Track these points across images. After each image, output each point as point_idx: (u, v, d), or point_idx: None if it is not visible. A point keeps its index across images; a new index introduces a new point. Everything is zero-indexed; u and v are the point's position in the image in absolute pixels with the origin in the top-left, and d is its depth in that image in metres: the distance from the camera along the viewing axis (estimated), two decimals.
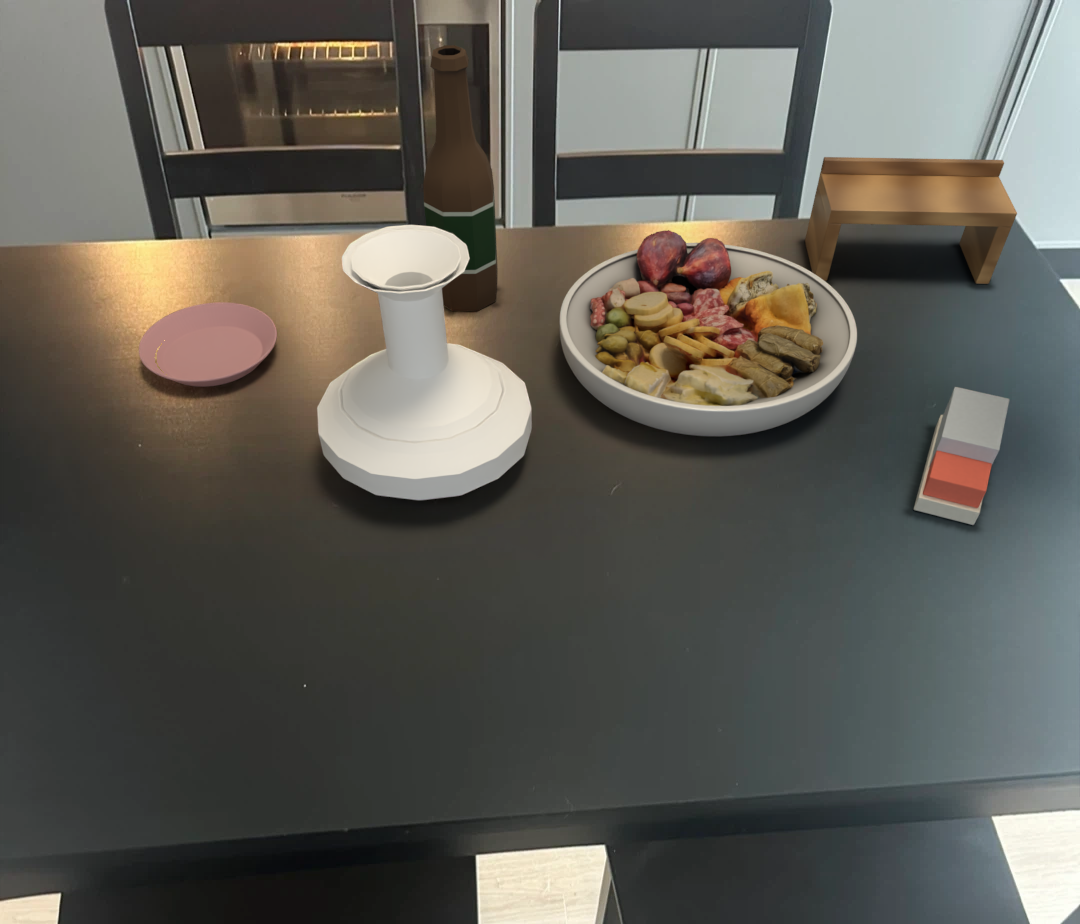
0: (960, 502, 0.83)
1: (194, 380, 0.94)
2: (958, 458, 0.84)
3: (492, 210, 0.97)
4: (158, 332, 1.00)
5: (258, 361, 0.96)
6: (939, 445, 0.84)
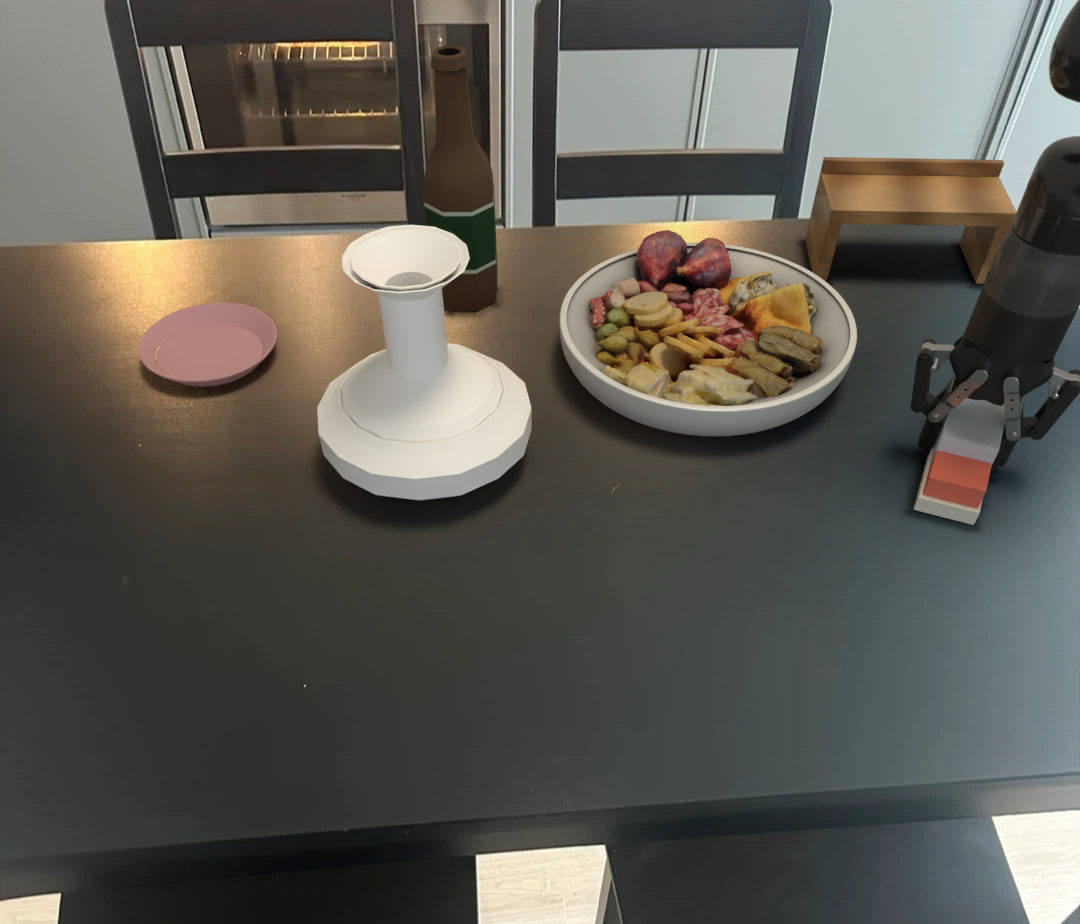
0: (960, 502, 0.83)
1: (194, 380, 0.94)
2: (958, 458, 0.84)
3: (492, 210, 0.97)
4: (158, 332, 1.00)
5: (258, 361, 0.96)
6: (939, 445, 0.84)
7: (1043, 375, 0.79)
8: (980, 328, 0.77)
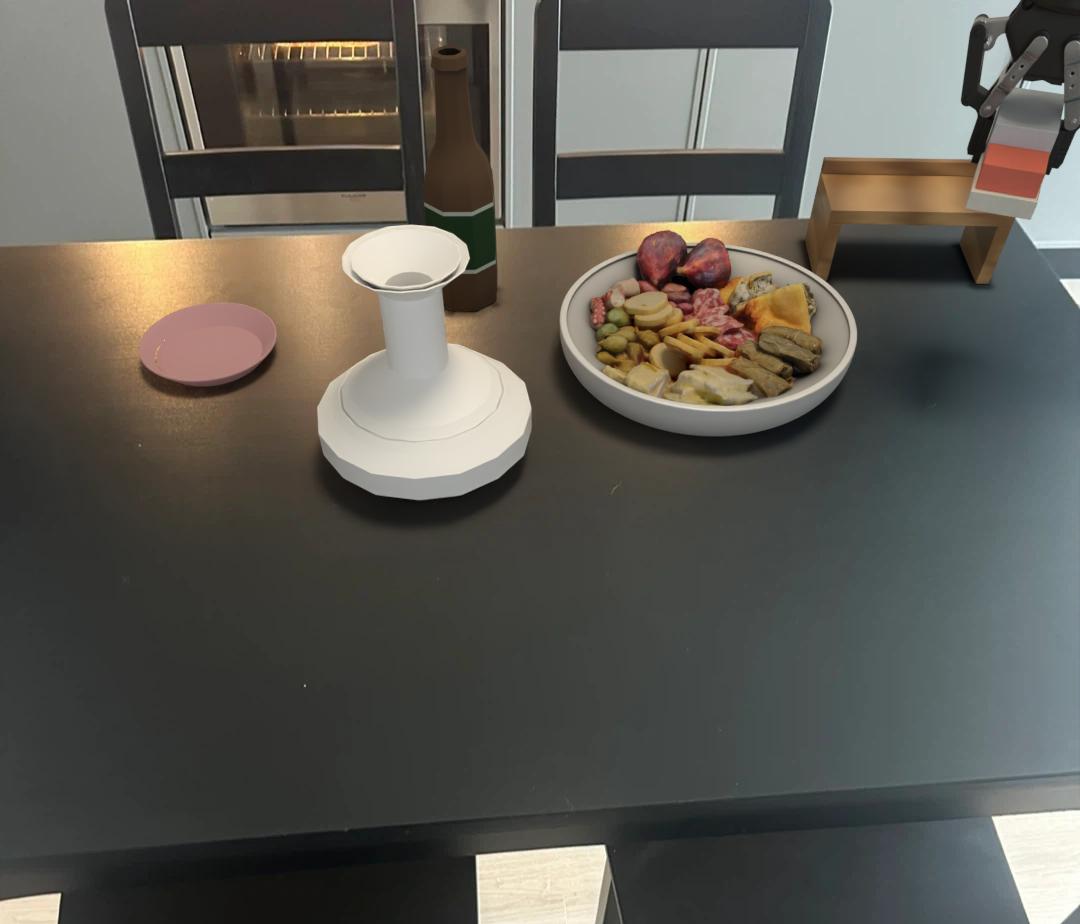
0: (1016, 193, 0.78)
1: (194, 380, 0.94)
2: (1013, 148, 0.79)
3: (492, 210, 0.97)
4: (158, 332, 1.00)
5: (258, 361, 0.96)
6: (992, 136, 0.79)
7: None
8: None
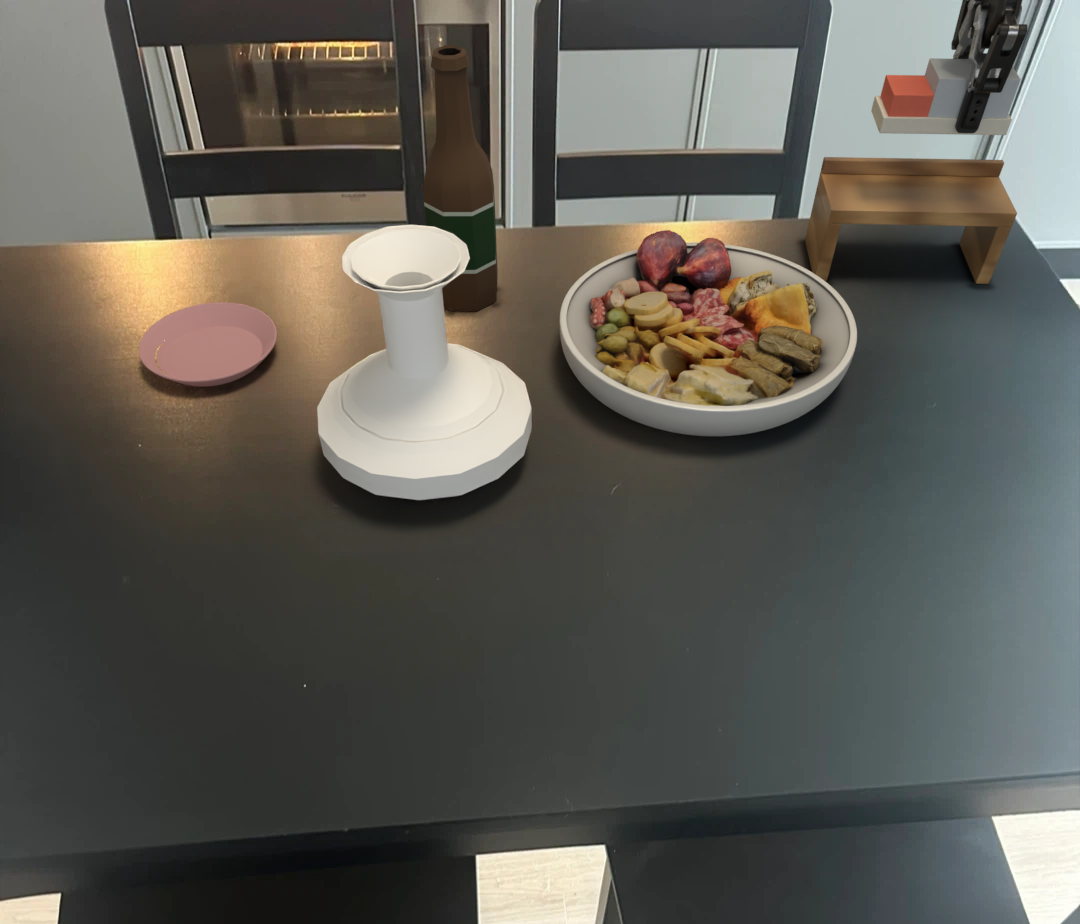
0: (885, 107, 0.96)
1: (194, 380, 0.94)
2: (924, 83, 0.96)
3: (492, 210, 0.97)
4: (158, 332, 1.00)
5: (258, 361, 0.96)
6: (926, 69, 0.96)
7: (995, 11, 0.87)
8: None
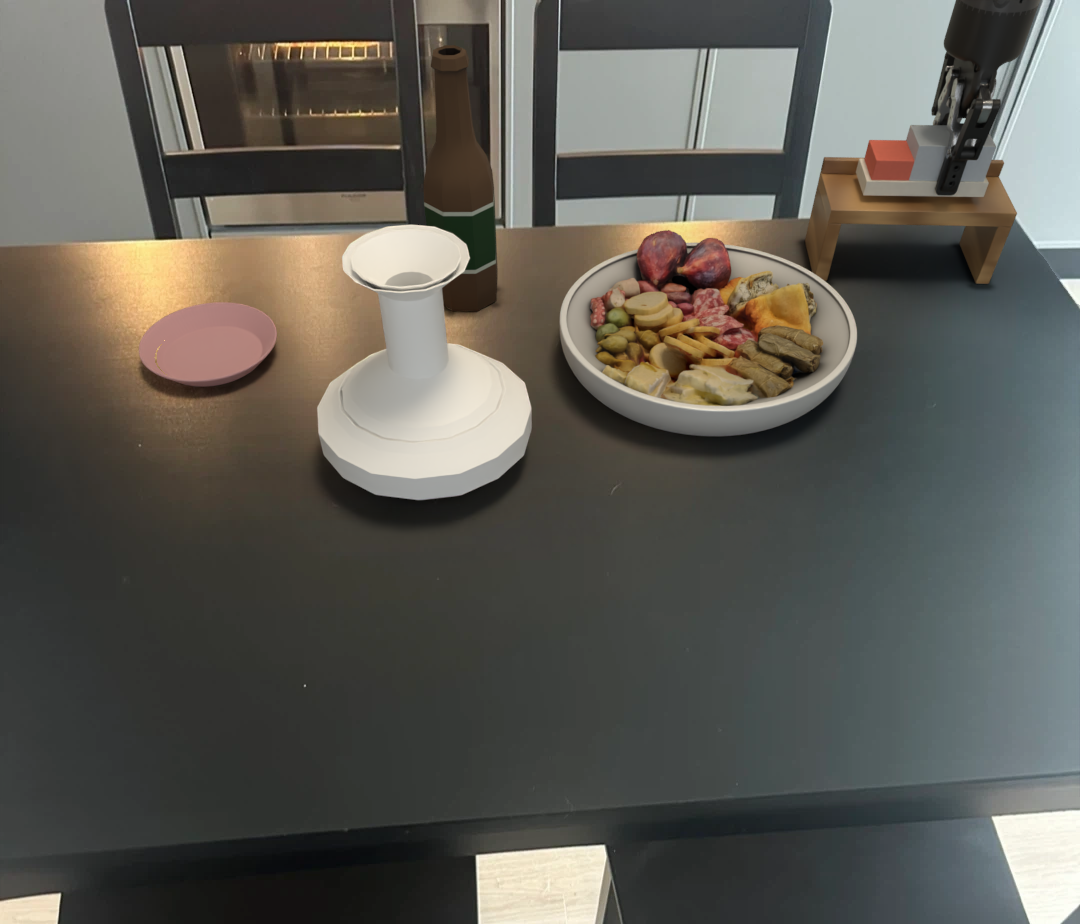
0: (869, 171, 1.01)
1: (194, 380, 0.94)
2: (905, 148, 1.01)
3: (492, 210, 0.97)
4: (158, 332, 1.00)
5: (258, 361, 0.96)
6: None
7: (971, 85, 0.92)
8: None
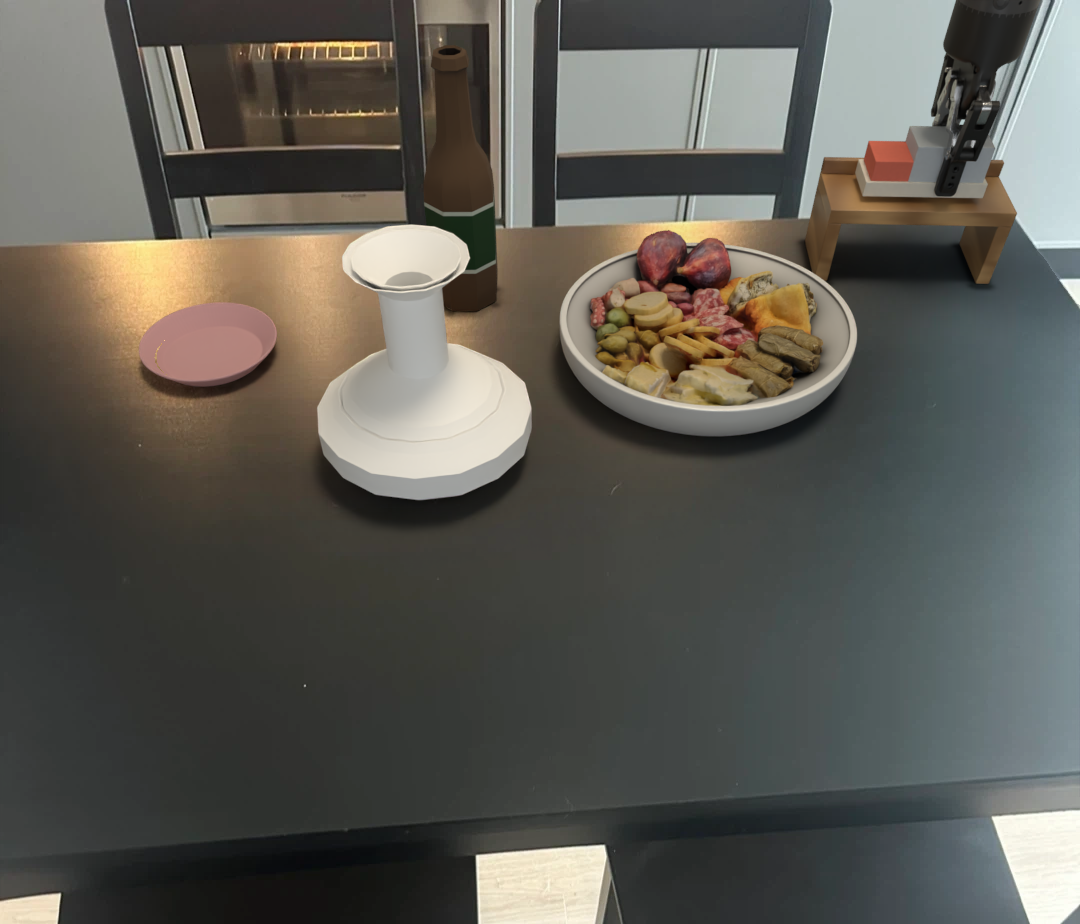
0: (868, 172, 1.01)
1: (194, 380, 0.94)
2: (904, 149, 1.01)
3: (492, 210, 0.97)
4: (158, 332, 1.00)
5: (258, 361, 0.96)
6: (907, 135, 1.01)
7: (970, 87, 0.92)
8: None
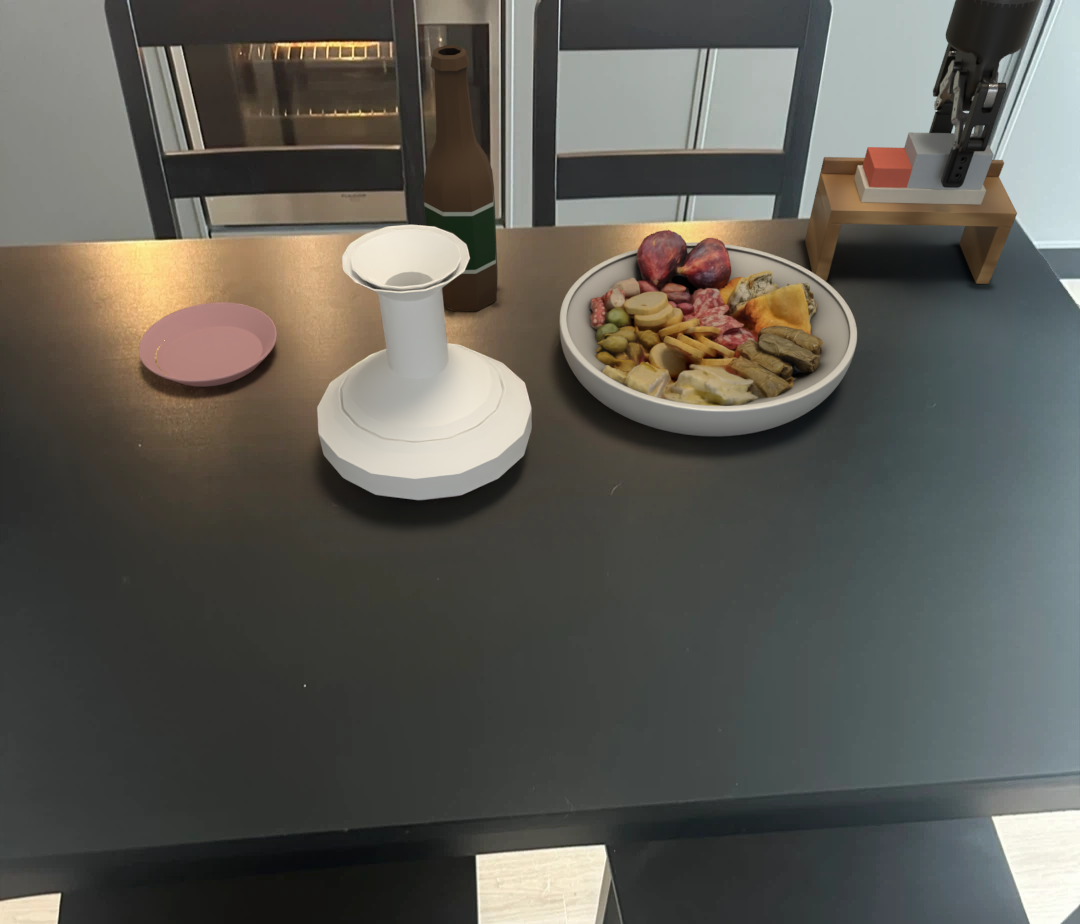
0: (867, 178, 1.02)
1: (194, 380, 0.94)
2: (903, 155, 1.01)
3: (492, 210, 0.97)
4: (158, 332, 1.00)
5: (258, 361, 0.96)
6: (906, 142, 1.02)
7: (973, 76, 0.92)
8: None
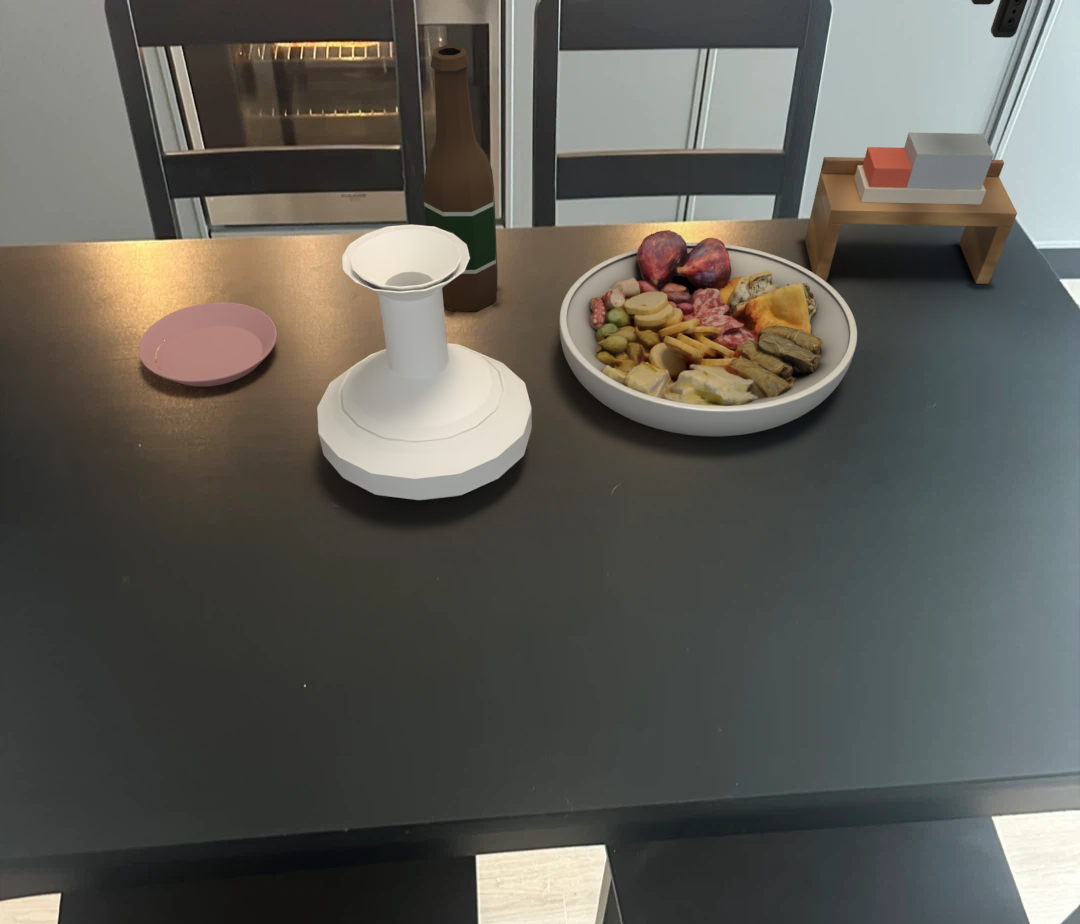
0: (867, 178, 1.02)
1: (194, 380, 0.94)
2: (903, 155, 1.01)
3: (492, 210, 0.97)
4: (158, 332, 1.00)
5: (258, 361, 0.96)
6: (906, 142, 1.02)
7: None
8: None
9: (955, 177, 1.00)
